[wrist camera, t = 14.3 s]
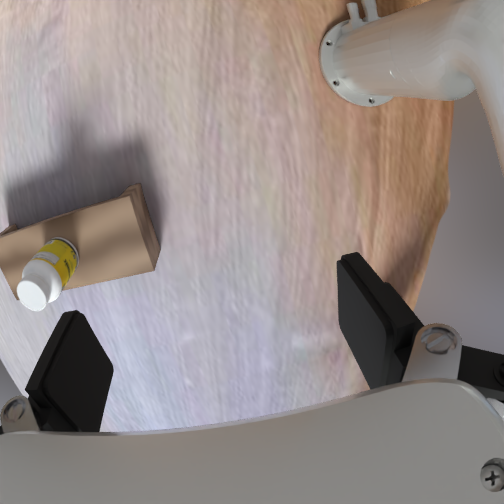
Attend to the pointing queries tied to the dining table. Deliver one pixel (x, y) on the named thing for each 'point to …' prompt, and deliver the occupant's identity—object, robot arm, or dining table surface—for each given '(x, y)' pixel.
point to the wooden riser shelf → (89, 241)
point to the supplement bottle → (47, 273)
